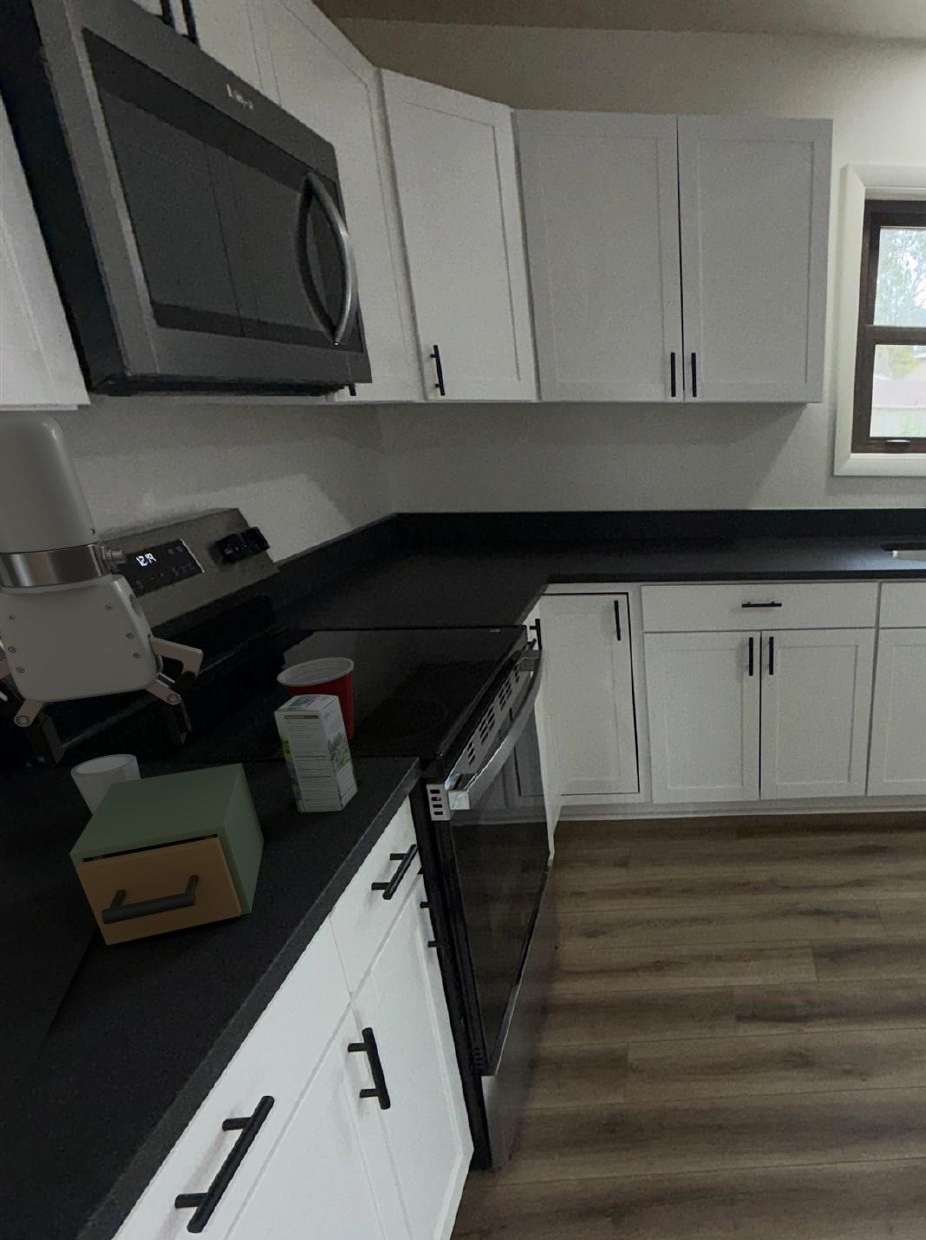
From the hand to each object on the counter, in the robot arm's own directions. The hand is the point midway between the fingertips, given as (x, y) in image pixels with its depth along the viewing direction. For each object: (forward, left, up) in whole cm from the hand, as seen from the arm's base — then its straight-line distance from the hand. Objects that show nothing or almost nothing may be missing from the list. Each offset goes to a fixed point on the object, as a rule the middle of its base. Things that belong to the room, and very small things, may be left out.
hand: (120, 750), depth 75 cm
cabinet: (0, +7, -20) cm, 21 cm away
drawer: (0, +2, -19) cm, 19 cm away
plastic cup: (+14, +47, -20) cm, 53 cm away
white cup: (-11, +32, -20) cm, 39 cm away
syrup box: (+14, +23, -20) cm, 33 cm away
